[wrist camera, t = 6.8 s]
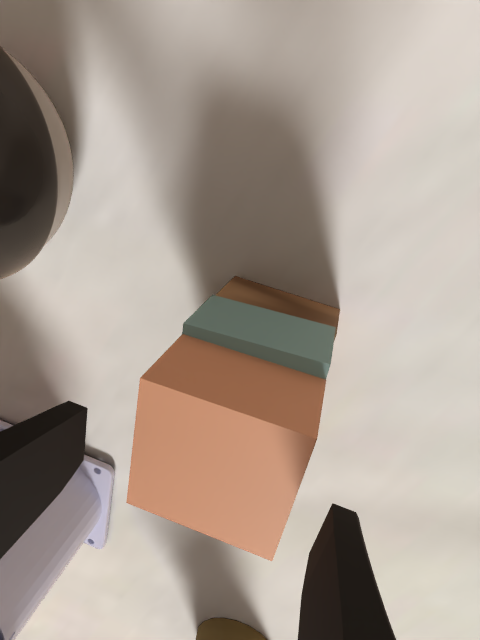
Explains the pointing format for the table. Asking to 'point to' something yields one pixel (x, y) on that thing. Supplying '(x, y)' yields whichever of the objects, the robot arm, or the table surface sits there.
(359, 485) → the table surface
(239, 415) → the orange block
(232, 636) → the olive upright rounded piece
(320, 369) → the teal slab
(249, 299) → the walnut slab
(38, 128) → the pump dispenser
